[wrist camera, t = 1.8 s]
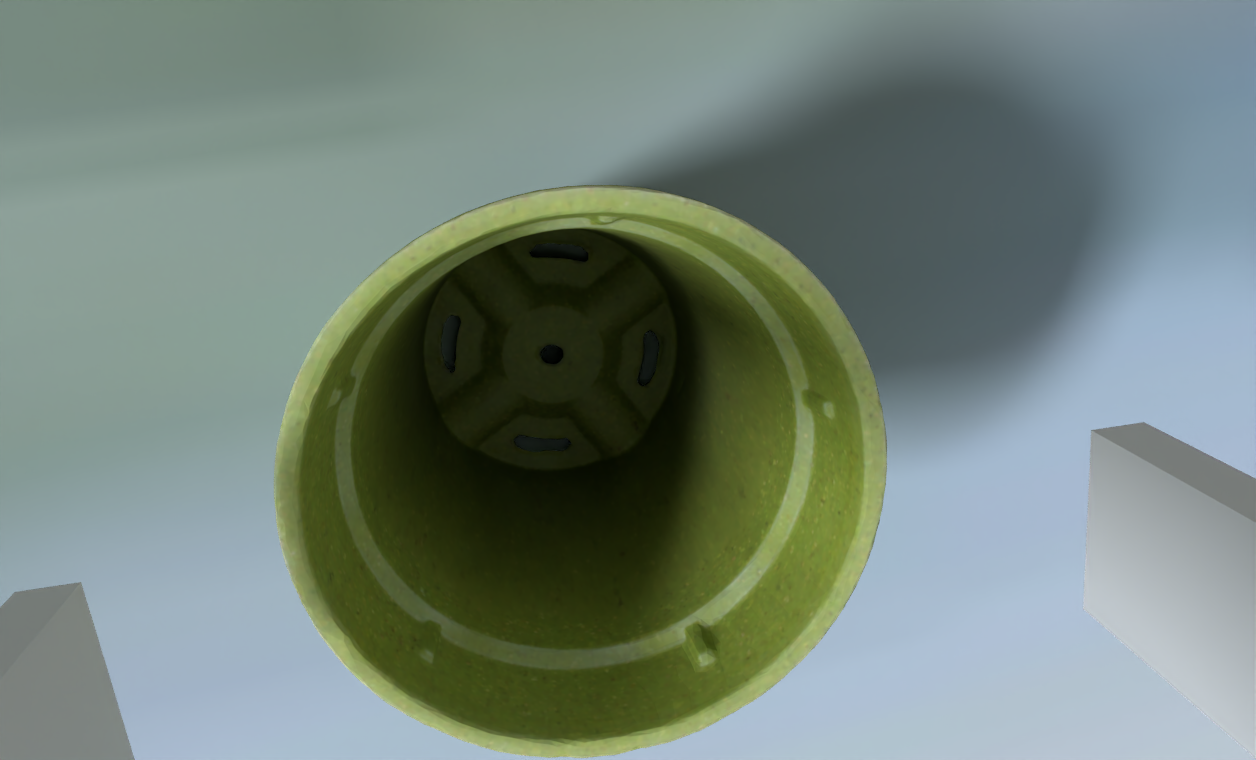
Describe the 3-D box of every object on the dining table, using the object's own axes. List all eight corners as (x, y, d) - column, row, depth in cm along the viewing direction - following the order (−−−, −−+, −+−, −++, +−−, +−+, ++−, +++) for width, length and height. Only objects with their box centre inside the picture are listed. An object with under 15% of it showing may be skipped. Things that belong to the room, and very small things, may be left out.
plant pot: (770, 160, 22) (939, 209, 14) (724, 532, 25) (842, 755, 17) (351, 127, 21) (266, 161, 13) (350, 527, 23) (279, 769, 15)
